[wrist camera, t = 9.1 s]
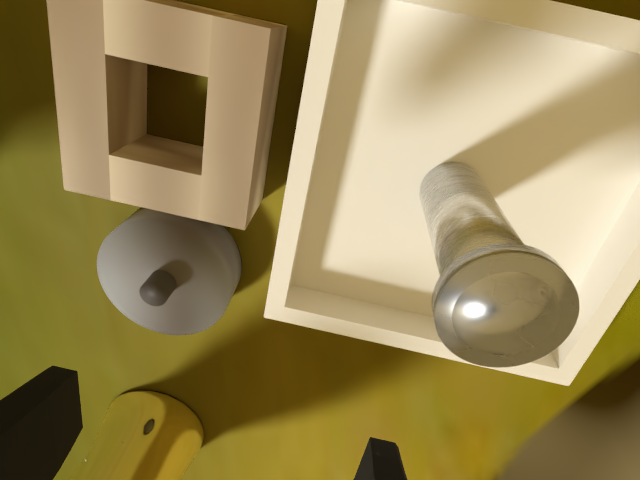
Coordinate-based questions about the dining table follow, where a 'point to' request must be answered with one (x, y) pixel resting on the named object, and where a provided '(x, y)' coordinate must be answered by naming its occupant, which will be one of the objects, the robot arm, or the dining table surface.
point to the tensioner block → (166, 147)
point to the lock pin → (490, 276)
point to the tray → (459, 146)
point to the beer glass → (143, 440)
